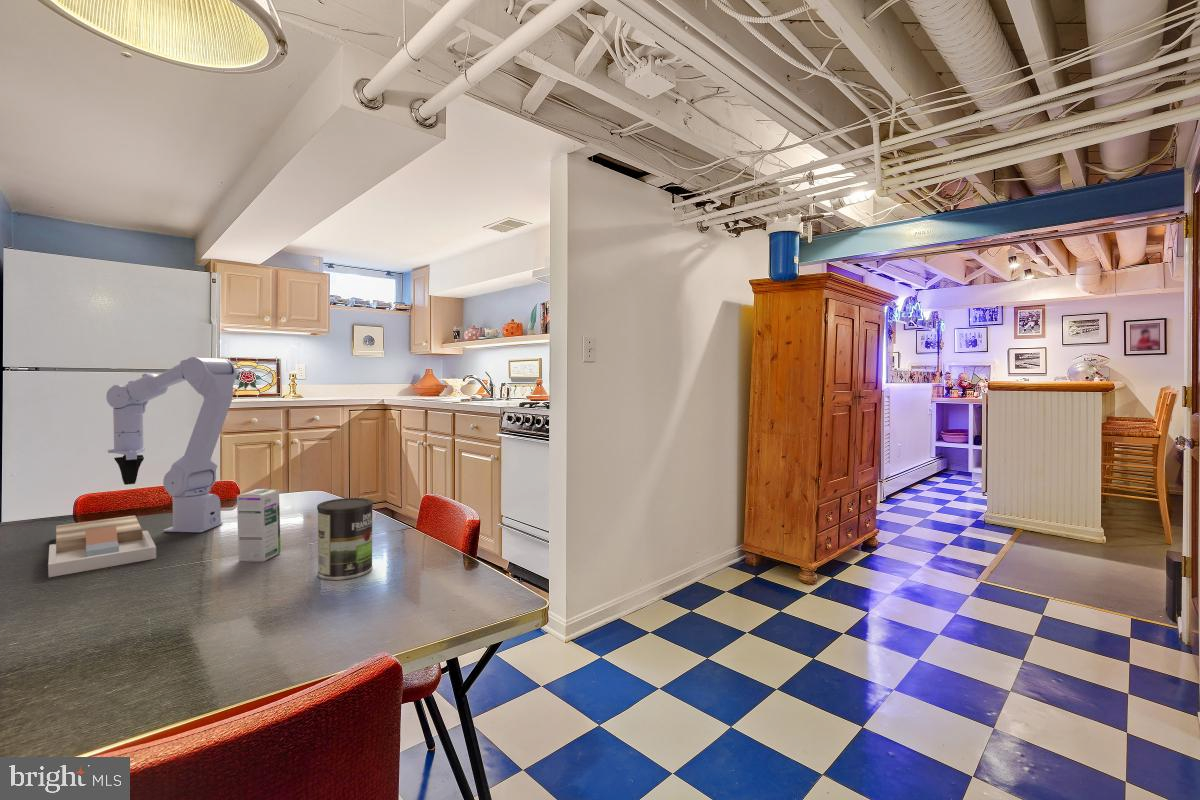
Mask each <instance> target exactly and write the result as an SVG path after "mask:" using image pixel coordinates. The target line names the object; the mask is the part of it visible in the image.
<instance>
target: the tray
mask: <svg viewBox="0 0 1200 800" xmlns="http://www.w3.org/2000/svg"><path fill="white" fill-rule="evenodd" d="M118 545H119V552H114V553H108V554H102V555H96V556H90V557H86V548H85V549H79V550H73V551H66V552H60V553H56V543H53V544H49V547H48V563H47V567H48V568H47V569H48V571H47V573H48V578H52V577H59V576H63V575H64V576H65V575H70V574H74V573H75V574H76V573H80V572H81V573H82V572H87V571H93V570H99V569H104V568H109V567H114V566H115V567H116V566H120V565H126V564H127V565H128V564H133V563H138V562H145V561H148V560H155V559H157V546H156V544H155V542H154V540H153V539H152V536H151V534H150V532H149V531H148V530H142V540H137V541H131V542H124V543H118Z"/></svg>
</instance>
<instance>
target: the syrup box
mask: <svg viewBox="0 0 1200 800" xmlns="http://www.w3.org/2000/svg"><path fill="white" fill-rule="evenodd" d="M236 507H237V508H236V511H237V517H236V518H237V541H238V542H237V543H238V544H237V548H238V549H237V550H238V552H237V553H238V561H240V562H252V563H254V562H257V563H260V562H261V563H264V562H266V561H267V560H269V559H271V558H273V557H275V556H277V555H279V554H280V553H281V551H282V549H281V519H280V518H281V517H280V516H281V515H280V513H281V512H280V511H281V510H280V490H279V489H276V488H275V489H273V488H258V489H254V490H253V489H252V490H250V491H247V492H244V493H241V494H237V495H236Z"/></svg>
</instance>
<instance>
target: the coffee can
mask: <svg viewBox="0 0 1200 800" xmlns="http://www.w3.org/2000/svg"><path fill="white" fill-rule="evenodd" d="M373 506H374V500H372V499H370V498H363V497H346V498H335V499H329V500H326V501H325V500H324V501H323V502H320V503H318V504H317V506H316V509H317V552H318V553H317V577H319V578H320V579H322V580H327V581H345V580H351V578H352V579H356V578H359V577H362V576H365V575H367V574H369V573H370V572H371V571H372V570H373V567H374V566H373ZM368 572H369V573H368ZM366 573H367V574H366ZM364 574H365V575H364ZM361 575H362V576H361ZM355 577H356V578H355Z"/></svg>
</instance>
